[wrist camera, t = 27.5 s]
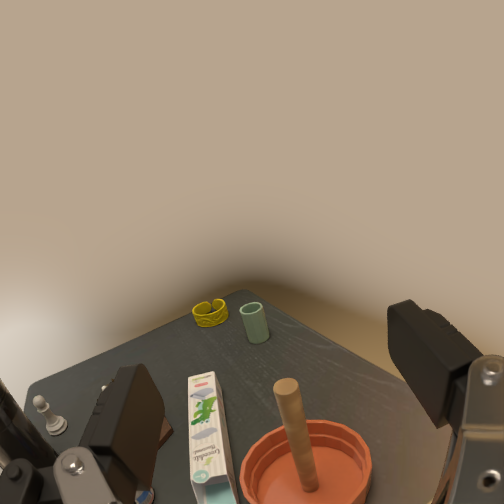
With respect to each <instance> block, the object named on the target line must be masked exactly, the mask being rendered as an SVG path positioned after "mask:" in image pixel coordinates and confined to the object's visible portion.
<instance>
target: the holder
mask: <svg viewBox="0 0 504 504" xmlns="http://www.w3.org/2000/svg"><path fill="white" fill-rule="evenodd" d="M240 314H241V318H242V321H243V324H244V328H245V331H246V334H247V338H248V341H249V342H250V343H253V344H259V343H262V342H265V341H266V340H267V339H268V338H269V336H270V335H269V329H268V326H267V322H266V318H265V314H264V310H263V306H262V304H261V303H258V302H254V303H249V304H246V305H244V306H242V307H241V309H240Z"/></svg>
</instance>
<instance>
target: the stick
mask: <svg viewBox="0 0 504 504" xmlns="http://www.w3.org/2000/svg"><path fill="white" fill-rule="evenodd" d="M273 390H274V394H275V397H276V401H277V404H278V408H279V411H280V414H281V418H282V421H283V425H284V428H285V432H286V435H287V439H288V442H289V445H290V449H291V452H292V456H293V459H294V462H295V466H296V469H297V473H298V476H299V479H300V483H301V486H302V489H303V490H304V491H305V492H308V493H311V492H314V491H316V490H317V489H318V487H319V482H318V477H317V472H316V467H315V462H314V457H313V452H312V447H311V442H310V437H309V432H308V428H307V423H306V418H305V413H304V408H303V404H302V399H301V394H300V390H299V385H298V382H297V381H296V380H295V379H292V378H284V379H281V380H279V381H277V382H276V383H275V385H274V387H273Z"/></svg>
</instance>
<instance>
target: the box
mask: <svg viewBox="0 0 504 504" xmlns="http://www.w3.org/2000/svg"><path fill="white" fill-rule="evenodd" d="M188 407H189V450H190V475H191V483H192V486H193V489H194V492H195V496H196V499H197V502H198V504H240V503H239V498H238V492H237V486H236V481H235V475H234V469H233V463H232V457H231V451H230V445H229V438H228V432H227V425H226V418H225V411H224V404H223V397H222V390H221V388H220V385H219V383H218V380H217V378H216V375H215V373H214V371H213V372H209V373H204V374H200V375H196V376H192V377H189V378H188Z"/></svg>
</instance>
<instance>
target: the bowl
mask: <svg viewBox="0 0 504 504" xmlns="http://www.w3.org/2000/svg"><path fill="white" fill-rule="evenodd" d="M306 423H307V428H308V432H309V437H310V442H311V447H312V452H313V457H314V462H315V467H316V472H317V477H318V482H319V487H318V489H317V490H316V491H314V492H311V493H308V492H305V491H304V490H303V489H302V486H301V483H300V479H299V476H298V473H297V469H296V466H295V462H294V459H293V456H292V452H291V449H290V445H289V442H288V439H287V435H286V432H285V428H284V425H283V426H281V427H279V428H277V429H275V430H273V431H271V432H269V433H267V434H266V435H264V436H263V437H262V438H261V439H260V440H259V441H258V442H256V443H255V444H254V445H253V446H252V447H251V448H250V450H249V452H248V453H247V455H246V457H245V458H244V460H243V461H242V466H241V472H240V478H239V480H240V484H241V487H242V491H243V494H244V497H245V498H246V500H247V501H248V503H249V504H364V503H365V501H366V498H367V494H368V491H369V488H370V483H371V472H372V463H371V456H370V450H369V448H368V446H367V445H366V443H365V442H364V441H363V439H362V438H361V436H360V435H359V434H358V433H356V432H355V431H353V430H351V429H350V428H348V427H347V426H345V425H343V424H339V423H335V422H332V421H328V420H306Z"/></svg>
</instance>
